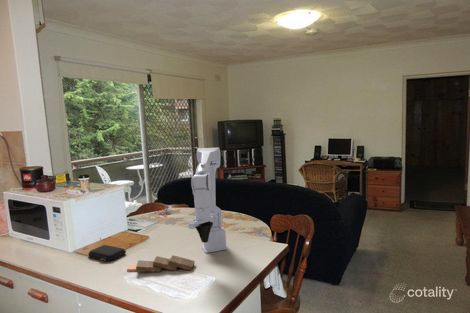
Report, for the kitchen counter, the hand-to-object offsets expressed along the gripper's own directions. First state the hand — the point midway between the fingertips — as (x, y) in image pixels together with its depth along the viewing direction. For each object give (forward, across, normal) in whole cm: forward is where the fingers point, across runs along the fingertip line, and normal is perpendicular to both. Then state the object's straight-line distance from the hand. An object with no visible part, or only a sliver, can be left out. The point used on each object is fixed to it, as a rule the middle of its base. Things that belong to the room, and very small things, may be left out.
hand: (204, 241), depth 122 cm
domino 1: (+10, +9, -15) cm, 20 cm away
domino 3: (+10, +2, -5) cm, 11 cm away
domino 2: (+10, +5, -10) cm, 15 cm away
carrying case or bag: (+11, +11, -46) cm, 48 cm away
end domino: (+10, +10, -19) cm, 24 cm away
